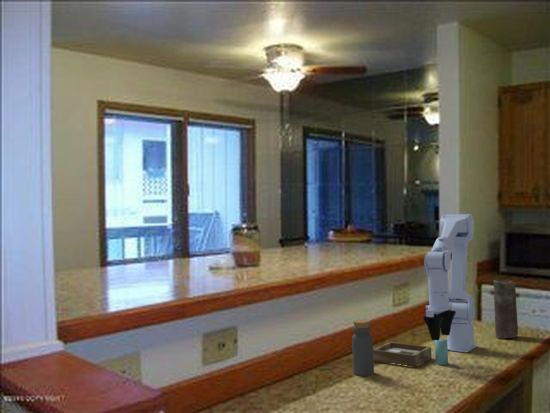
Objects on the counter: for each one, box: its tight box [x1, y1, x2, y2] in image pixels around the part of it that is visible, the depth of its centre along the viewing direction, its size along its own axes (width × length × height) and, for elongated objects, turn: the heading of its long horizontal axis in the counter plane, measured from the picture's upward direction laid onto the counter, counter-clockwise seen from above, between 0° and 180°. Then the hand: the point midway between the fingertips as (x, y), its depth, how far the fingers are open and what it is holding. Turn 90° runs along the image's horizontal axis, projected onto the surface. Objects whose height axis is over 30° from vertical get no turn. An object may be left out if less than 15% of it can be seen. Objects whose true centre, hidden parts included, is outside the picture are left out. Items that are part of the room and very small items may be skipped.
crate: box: [373, 341, 433, 368], centre depth 175 cm, size 12×14×4 cm
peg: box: [434, 338, 449, 366], centre depth 169 cm, size 4×4×7 cm
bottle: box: [351, 318, 375, 377], centre depth 163 cm, size 6×6×15 cm
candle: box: [492, 278, 519, 339], centre depth 197 cm, size 8×7×20 cm
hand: (440, 337), depth 169 cm, fingers open, 7 cm apart
